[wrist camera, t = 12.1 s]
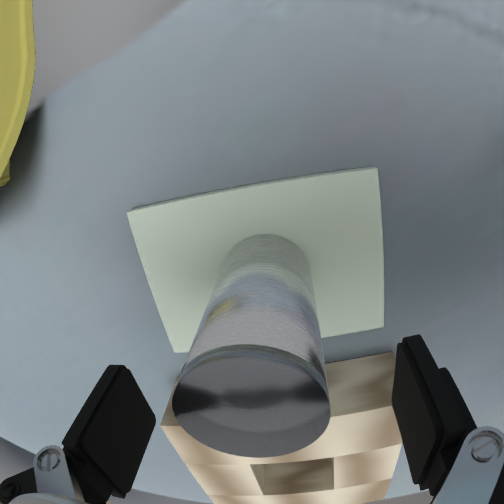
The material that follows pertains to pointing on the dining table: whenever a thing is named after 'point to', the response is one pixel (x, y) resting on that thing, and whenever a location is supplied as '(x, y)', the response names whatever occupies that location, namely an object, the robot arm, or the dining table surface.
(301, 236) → the mat
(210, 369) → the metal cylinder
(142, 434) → the robot arm
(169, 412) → the bore block
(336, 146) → the dining table surface
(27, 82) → the plastic component
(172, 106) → the dining table surface
